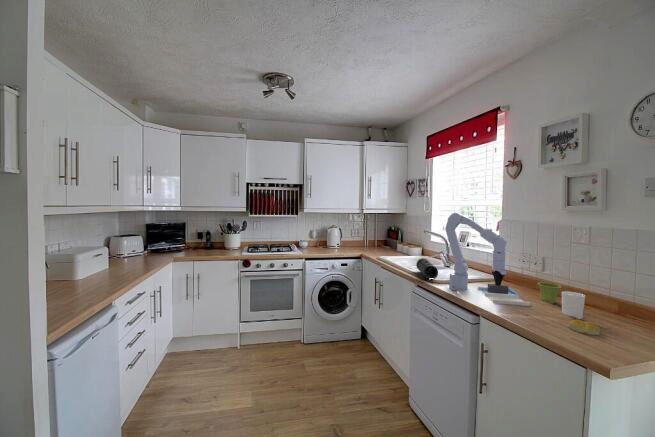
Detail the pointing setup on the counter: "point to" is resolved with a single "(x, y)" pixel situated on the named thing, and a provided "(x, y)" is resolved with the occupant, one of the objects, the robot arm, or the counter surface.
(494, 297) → the tray
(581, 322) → the bread roll
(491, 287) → the dark gray rectangular block
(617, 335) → the counter surface
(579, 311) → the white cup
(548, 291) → the plant pot
